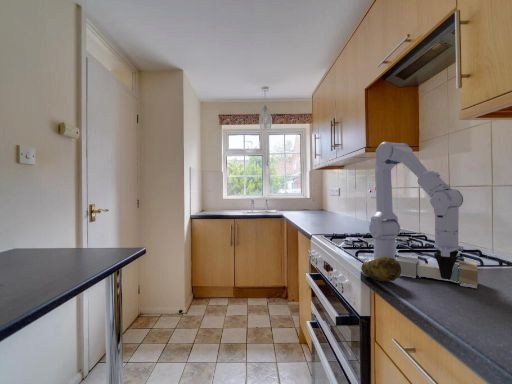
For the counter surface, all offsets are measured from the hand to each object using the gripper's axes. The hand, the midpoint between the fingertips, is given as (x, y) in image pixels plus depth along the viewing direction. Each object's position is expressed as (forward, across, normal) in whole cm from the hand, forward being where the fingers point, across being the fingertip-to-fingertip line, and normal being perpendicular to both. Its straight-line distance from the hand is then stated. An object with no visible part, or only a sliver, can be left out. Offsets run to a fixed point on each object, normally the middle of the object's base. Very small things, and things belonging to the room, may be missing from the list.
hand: (446, 276), depth 81 cm
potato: (+2, -12, +16) cm, 20 cm away
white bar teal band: (+1, 0, +1) cm, 2 cm away
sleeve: (+1, 0, +10) cm, 10 cm away
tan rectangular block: (+1, 0, -5) cm, 5 cm away
